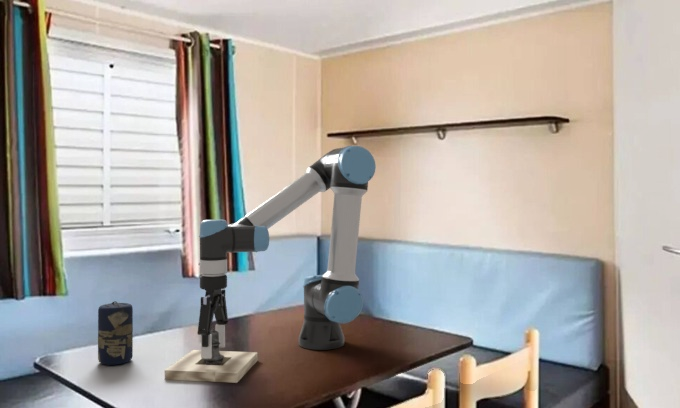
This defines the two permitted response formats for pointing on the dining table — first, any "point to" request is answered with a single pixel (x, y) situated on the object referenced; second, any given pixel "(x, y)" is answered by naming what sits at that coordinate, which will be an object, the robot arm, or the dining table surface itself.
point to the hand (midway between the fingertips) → (213, 352)
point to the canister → (115, 333)
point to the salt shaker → (214, 350)
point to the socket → (212, 367)
